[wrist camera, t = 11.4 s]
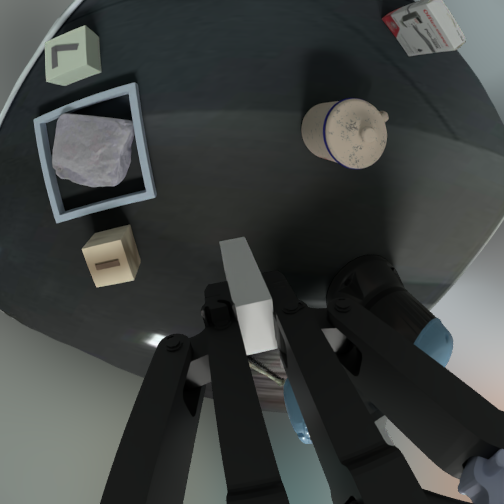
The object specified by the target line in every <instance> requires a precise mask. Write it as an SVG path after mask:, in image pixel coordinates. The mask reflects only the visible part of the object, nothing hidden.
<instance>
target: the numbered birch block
mask: <svg viewBox="0 0 504 504" xmlns="http://www.w3.org/2000/svg"><path fill="white" fill-rule="evenodd" d="M82 251H83V254H84V257H85V260H86V262H87V265H88V267H89V270H90V273H91V275H92V278H93V280H94V283H95V285H96V287H102V286H107V285H112V284H117V283H123V282H128V281H133V280H134V279H135V276H136V273H137V270H138V268H139V265H140V262H141V260H140V257H139V253H138V250H137V247H136V244H135V240H134V237H133V233H132V230H131V226H130V225H126V226H122V227H118V228H113V229H109V230H105V231H101V232H97V233H94V235H93V236H92V237H91V238H90V239H89V241H88V242H87V243H86V244H85V246H84V247H83V248H82Z"/></svg>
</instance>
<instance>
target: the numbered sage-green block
mask: <svg viewBox="0 0 504 504" xmlns="http://www.w3.org/2000/svg"><path fill="white" fill-rule="evenodd" d="M45 67H46V82H50V83H54V84H58V85H62V86H66V85H69V84H71V83H74V82H76V81H79V80H81V79H84V78H87V77H89V76H92V75H95V74H98V73H101V60H100V46H99V37H98V36H97V35H96V34H95V33H94V32H93V31H92V30H90V29H89V28H88V27H87V26H86V25H84V26H82V27H79V28H77V29H74V30H72V31H70V32H67V33H65V34H63V35H60V36H58V37H56V38H54V39H52V40H50V41H48V42H46V43H45Z"/></svg>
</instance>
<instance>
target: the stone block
mask: <svg viewBox="0 0 504 504" xmlns="http://www.w3.org/2000/svg"><path fill="white" fill-rule="evenodd" d="M134 133H135V132H134V126H133V121H130V120H124V119H116V118H108V117H99V116H90V115H80V114H69V113H63V114H61V115H60V117H59V119H58V121H57V127H56V134H55V140H54V147H53V155H52V166H53V168H54V169H55V170H56V174H57V175H58V176H59V177H60V178H62V179H70V180H71V181H72V182H75V183H78V184H81V185H87V186H90V187H99V186H102V187H104V186H116V185H118V184H119V183H120V182H121V181H122V180H123V179H124V177H125V176H126V174H127V170H128V168H129V166H130V163H131V145H132V142H133V138H134Z"/></svg>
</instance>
